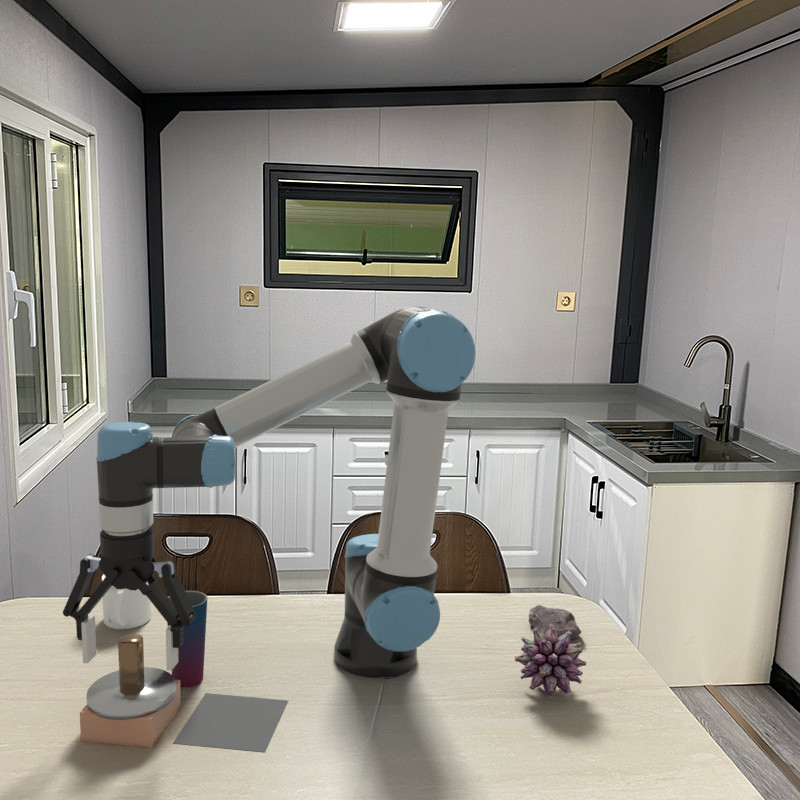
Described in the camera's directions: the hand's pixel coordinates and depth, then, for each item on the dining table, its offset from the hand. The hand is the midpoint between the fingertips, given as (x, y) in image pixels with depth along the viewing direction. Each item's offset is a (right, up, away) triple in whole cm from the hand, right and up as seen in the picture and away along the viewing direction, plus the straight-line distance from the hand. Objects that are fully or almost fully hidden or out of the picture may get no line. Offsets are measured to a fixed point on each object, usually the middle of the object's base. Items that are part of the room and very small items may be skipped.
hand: (130, 662), depth 121 cm
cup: (+5, -8, +15) cm, 18 cm away
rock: (+72, -7, +37) cm, 81 cm away
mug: (-13, -4, +36) cm, 38 cm away
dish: (0, -10, +2) cm, 10 cm away
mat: (+15, -10, +3) cm, 19 cm away
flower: (+66, -10, +15) cm, 69 cm away
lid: (0, -5, +1) cm, 5 cm away
